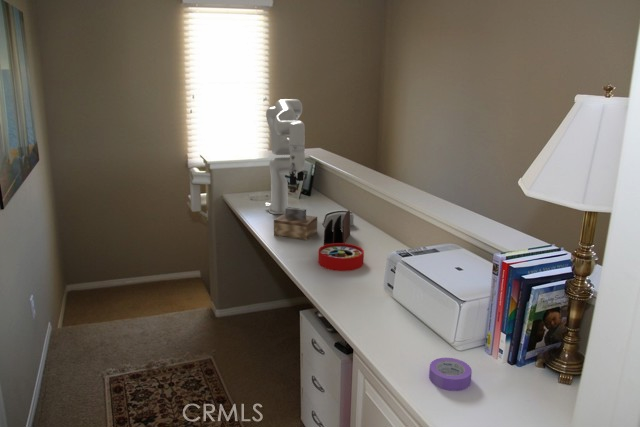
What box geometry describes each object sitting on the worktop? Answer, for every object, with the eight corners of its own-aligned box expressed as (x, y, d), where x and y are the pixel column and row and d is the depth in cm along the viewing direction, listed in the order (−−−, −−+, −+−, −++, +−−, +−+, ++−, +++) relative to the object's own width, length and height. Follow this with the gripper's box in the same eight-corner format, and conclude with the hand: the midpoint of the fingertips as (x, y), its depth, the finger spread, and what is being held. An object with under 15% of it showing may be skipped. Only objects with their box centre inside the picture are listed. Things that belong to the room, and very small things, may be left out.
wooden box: (273, 235, 282) (273, 222, 280) (285, 228, 295) (285, 215, 293) (307, 240, 276) (307, 226, 274) (317, 232, 289) (317, 219, 287)
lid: (273, 222, 280) (273, 210, 278) (285, 215, 293) (285, 203, 291) (307, 226, 274) (307, 214, 272) (317, 219, 287) (317, 207, 285)
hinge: (350, 222, 307) (353, 207, 301) (353, 227, 303) (356, 212, 298) (321, 224, 303) (323, 209, 297) (323, 229, 299) (325, 214, 293)
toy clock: (371, 255, 241) (328, 260, 234) (371, 268, 242) (328, 273, 235) (352, 241, 259) (311, 245, 252) (352, 253, 260) (311, 258, 253)
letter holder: (350, 234, 287) (350, 208, 283) (343, 247, 268) (344, 219, 264) (330, 233, 288) (331, 206, 285) (323, 245, 270) (323, 217, 266)
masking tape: (421, 381, 159) (422, 369, 158) (440, 364, 168) (441, 352, 167) (460, 396, 152) (461, 384, 151) (477, 378, 161) (478, 366, 160)
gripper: (297, 151, 265) (297, 186, 269) (310, 146, 280) (310, 179, 285) (282, 150, 267) (282, 185, 272) (296, 145, 283) (296, 178, 287)
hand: (296, 182), depth 278 cm, fingers open, 9 cm apart
